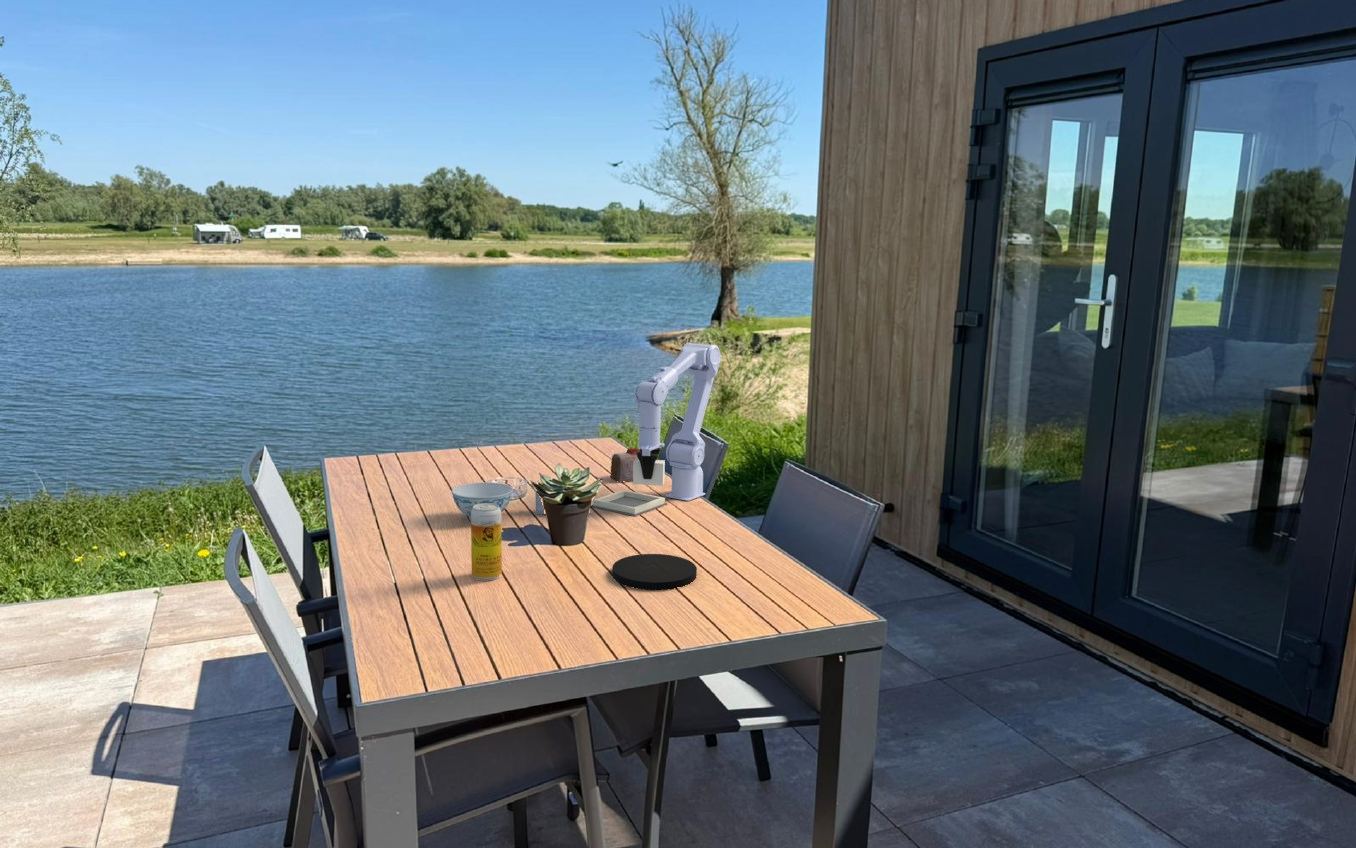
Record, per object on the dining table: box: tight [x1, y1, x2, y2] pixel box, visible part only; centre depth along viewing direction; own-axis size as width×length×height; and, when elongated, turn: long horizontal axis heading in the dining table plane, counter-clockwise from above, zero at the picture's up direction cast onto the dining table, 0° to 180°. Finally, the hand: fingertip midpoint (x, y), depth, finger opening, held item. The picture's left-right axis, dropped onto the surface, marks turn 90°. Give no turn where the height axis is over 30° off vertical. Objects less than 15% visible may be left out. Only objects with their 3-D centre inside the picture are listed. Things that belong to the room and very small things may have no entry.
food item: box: [609, 447, 641, 483], centre depth 264 cm, size 14×8×10 cm, turn 123°
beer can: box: [470, 503, 503, 582], centre depth 177 cm, size 6×6×15 cm
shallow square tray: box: [591, 489, 668, 517], centre depth 235 cm, size 15×15×2 cm
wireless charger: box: [611, 553, 698, 591], centre depth 182 cm, size 18×18×2 cm
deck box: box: [632, 459, 666, 486], centre depth 230 cm, size 4×8×6 cm, turn 85°
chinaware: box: [451, 482, 514, 522], centre depth 218 cm, size 15×15×8 cm
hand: (648, 476), depth 230 cm, fingers closed on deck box, 4 cm apart
